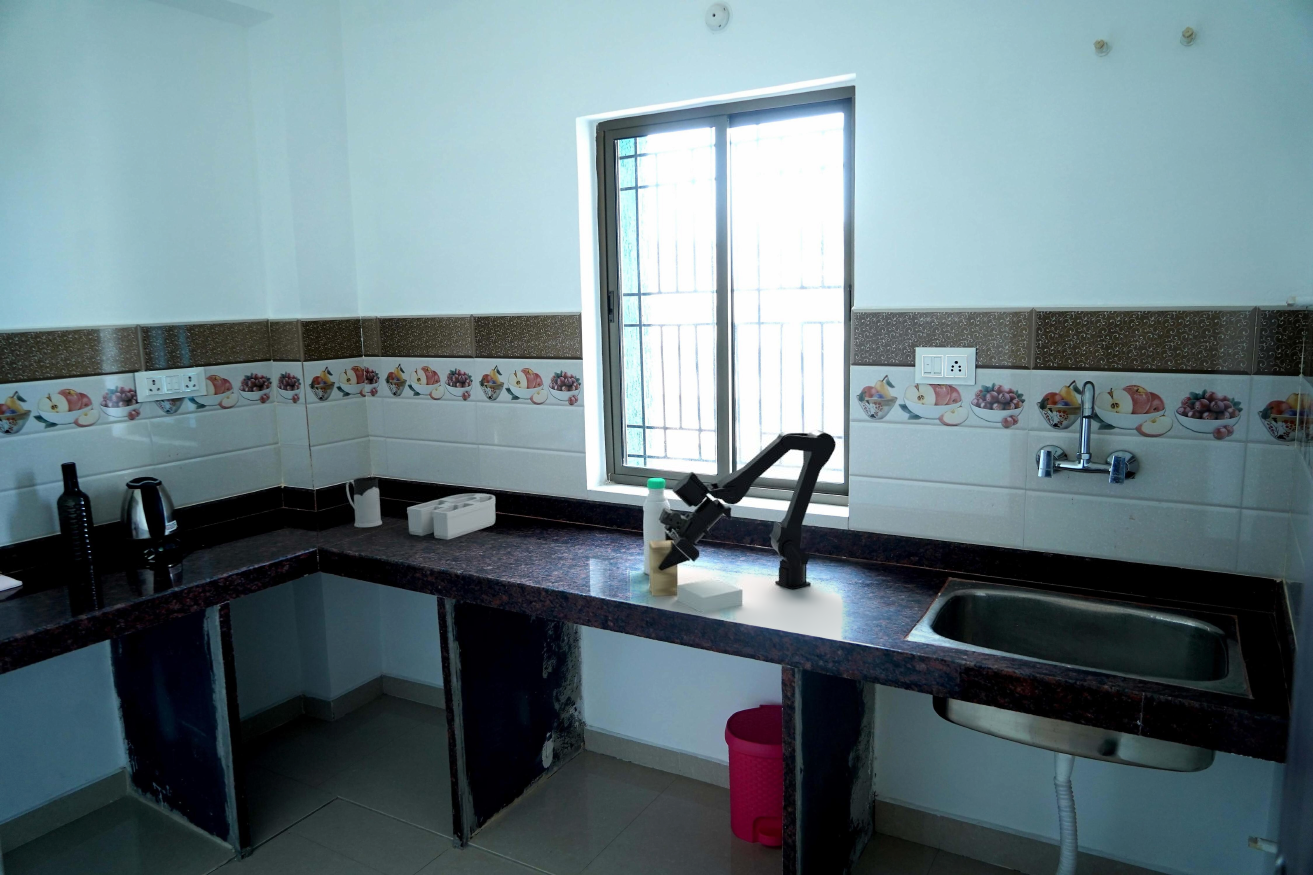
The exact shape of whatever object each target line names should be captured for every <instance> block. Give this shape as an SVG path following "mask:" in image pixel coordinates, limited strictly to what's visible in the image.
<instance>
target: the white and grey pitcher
mask: <svg viewBox="0 0 1313 875" xmlns="http://www.w3.org/2000/svg"><path fill="white" fill-rule="evenodd" d="M349 483H351V484H352V485H353V489H354V490H353V492H354V494H353V501H354V502H353V501H352V499H351V495H350V491H349V485H350V484H349ZM345 487H346V488H345V489H346V490H345V491H346V495H347V498H348V501H349V503H350V505H351V506H352V507H353V509H354V518H355V520H354V527H357V528H371V527H377V526H380V525H381V526H382V524H383V521H382V519H381V505H380V504H381V501H380V489H379V479H378V477H374V476H368V477H367V476H366V477H358V478H354V479H353V480H348V481H347V482H346V484H345Z"/></svg>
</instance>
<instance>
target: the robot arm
mask: <svg viewBox="0 0 1313 875" xmlns="http://www.w3.org/2000/svg"><path fill="white" fill-rule="evenodd" d="M835 449H836V441H835V438H834V437H833V436H832V435H831V434H830V433H828V432H825V431H822V430H819V429H818V430H817V429H815V430H812V431H810V432H788V431H783V432H780V433H778V435H777V437H776V438H775V439H774V440H773V441H772V442H770V443H769V444H768V445H767V446H766V447H765V448H763V449H762V450H761V451H760V452H758V453H757V454H756V455H755V456H754V457H753V458H752V459H750V460H749V461H748V462H747V463H746V464H745V465H744V466H743V467H741V468H739V469H737V470H735V471H733V472H729V473H728V474H726V475H725V476H724V477H722V478H721V479H720V480H718V481H717V482H713V483H707V484H705V483H704V482H702V480H701V479H699V476H698V475H697V474H695V472H693V471H691V472H690V473H688V474H687V475H685V476H684V477H682V478H680V479H679V480H678V481H677V482H676V483H675V485H674V486H673V488H672V492H673V494H675V495H676V496H677V497H678V498H679V499H680V500H681V501H682V502H683V503H684V504H685V505H686V506H688V508H690V507H691V508H692V507H694V508H695V509H694V510H693V511H692V512H691V513H690V512H686V514H684V515H682V514H681V513H680V512H677V511H675V510H671V509H670V510H669V509H666V508H664V509H663V511H662V513H661V515H660V517H659V520H660V522H661V523H662V524H664V525H666V526H665V527H664V528H665V529H666V530H667V531H669V532H668V533H667V532H666V531H665V541H667V540H673V541H674V543H675V544H674V543H673V542H672V541H671V550H670V551H669V553H668V554H667V555H666V557H665V558H664V560H663V561H662V562H661V564H660V565H659V567H658V568H659V569H660V570H661V571H662V570H665V569H667V568H670V567H672V566H675V565H677V566H678V565H679V564H682V563H685V562H690V561H692V562H693V563H695V562H696V561H697V560H698V559H699V558H700V550H699V548H698V547H697V546H698V543H697V542H698V541H699V540H700V539H702V537H703V536H704V535H705V536H707V535H709V534H710V532H709V530H710V529H711V527H713V525H715V523H716V522H717V521H718V520H719V519H720V518H722V516H723V515H724V516H725V517H726V518H727V519H729V520H731V519H732V508H731V506H725V504H727V505H736V504H738V503H739V502H741V501H742V500H743V498H744V497H745V496H746V495H747V493H748V492H749V491H750V489H751V487H752V485H753V484H754V482H755V481H756V480H758V479H759V478H760V477H761V476H762V475H763V474H764V473H765V472H767V471H768V469H770V468H771V467H772V466H774V464H776V463H777V462H778V461H779V460H781V458H783V457H784V456H785V455H786V454H787V453H788V452H790V451H791V450H792V451H802V457H803V458H802V460H803V461H802V467H801V470H800V473H799V475H798V478H797V481H796V484H795V488H794V490H793V493H792V495H791V499H790V502H789V504H788V508H787V510H786V514H785V516H784V518H782V520H781V522H778V521H776V520H775V521H774V523H773V529H772V531H771V533H770V534H769V537H771V540H770V544H771V546H772V548H773V549H774V550H775V551H776V552H777V553H778V556H779V557H780V558H782V559H781V560H779V567H778V580H776V581H775V582H774V583H775V585H778V586H781V587H784V588H788V589H790V590H796V589H800V588H803V587H804V588H805V587H808V586H811V585H812V583H811V582H809V581H807V566H808V565H807V564H808V563H809V561H810V558H811V557H810V555H809V554H808V553H807V552H805V551H804V549H802V540H803V523H804V520H805V517H806V513H807V510H808V507H809V506H810V503H811V499H812V496H813V493H814V492H815V488H816V484H817V482H818V479H819V476H820V473H821V471H822V469H823V467H824V466H825V465H826V464H827V463H829V461H830V459H831V457H832V455H833V453H834V452H835ZM708 494H709V495H710V496H712V498H713V499H714V500H713V499H712V498H711V497H710V496H708ZM720 500H722V501H723V502H724V503H725V504H723V503H722V501H720Z"/></svg>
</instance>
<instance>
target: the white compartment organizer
mask: <svg viewBox="0 0 1313 875" xmlns="http://www.w3.org/2000/svg"><path fill="white" fill-rule="evenodd" d="M406 510H407V511H406V513H407V517H408V518H407V519H408V532H409V534H410V535H415V536H421V537H423V536H427V535H429V534H432V533H433V536H434V538H436V539H441V540H447V541H448V540H451V539H454V538H457V537H460V536H464V535H466V534H470V533H473V532H476V531H479V530H482V529H485V528H487V527H490V526H493V525H494V524H495V523H496V496H495V495H493V494H489V493H488V494H487V493H462V494H461V493H460V494H455V495H450V496H445V497H443V498H439V499H435V500H431V501H428V502H423V503H420V504H416V505H413V506H409V507H407V508H406Z"/></svg>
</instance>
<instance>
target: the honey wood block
mask: <svg viewBox="0 0 1313 875" xmlns="http://www.w3.org/2000/svg"><path fill="white" fill-rule="evenodd" d="M671 541H672V542H673V543H674V541H673V540H667V541H649V567H650V575H649V590H650V592H651V594H652V596H653V597H659V596H660V597H661V596H677V585H679V584H678V583H679V582H678V580H679V578H678V564H677V565H675V566H672V567H670V568H667V569H665V570H662V571H661V570H660V569H659V568H658V567H659V565H660V564H661V562H662V561H663V560H664V558H665V557H666V555H667V554H668V553H669V551H670V550H671ZM674 544H675V543H674Z"/></svg>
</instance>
